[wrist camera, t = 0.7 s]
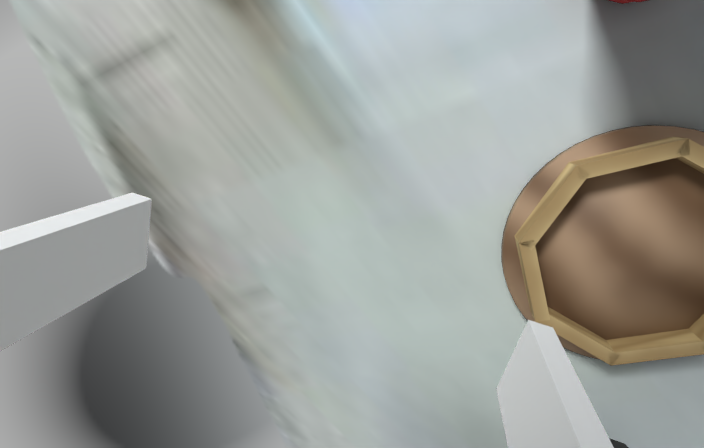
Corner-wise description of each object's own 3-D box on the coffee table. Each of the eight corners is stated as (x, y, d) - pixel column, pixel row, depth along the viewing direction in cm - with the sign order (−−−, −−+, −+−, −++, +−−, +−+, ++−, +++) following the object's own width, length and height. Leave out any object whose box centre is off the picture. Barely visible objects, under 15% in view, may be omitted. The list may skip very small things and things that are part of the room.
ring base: (603, 76, 32) (619, 73, 29) (844, 209, 31) (885, 219, 28) (456, 281, 39) (458, 295, 36) (650, 394, 38) (667, 417, 35)
